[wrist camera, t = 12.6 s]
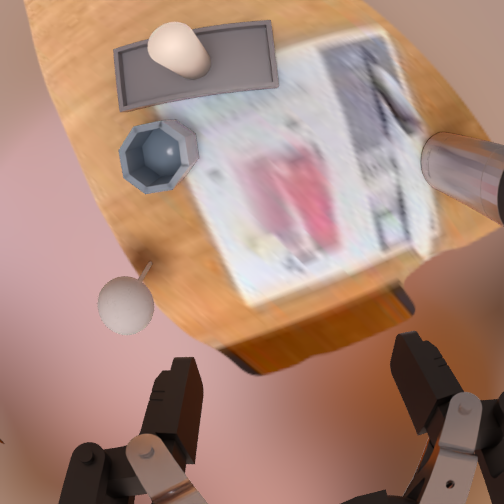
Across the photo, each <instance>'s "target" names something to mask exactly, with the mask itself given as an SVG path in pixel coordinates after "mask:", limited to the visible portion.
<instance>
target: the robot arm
mask: <svg viewBox="0 0 504 504" xmlns="http://www.w3.org/2000/svg"><path fill="white" fill-rule="evenodd" d="M421 166H422V171H423V175H424V177H425V179H426V181H427V182H428V183H429V184H430V185H431V186H432V187H433V188H435V189H437V190H439V191H441V192H443V193H445V194H447V195H448V196H450V197H452V198H454V199H456V200H458V201H460V202H461V203H463V204H465V205H467V206H469V207H470V208H472V209H474V210H476V211H478V212H479V213H481V214H483V215H484V216H486V217H488V218H490V219H491V220H493V221H495V222H496V223H498V224H500V225H501V226H503V227H504V145H501V144H497V143H493V142H489V141H485V140H480V139H476V138H472V137H467V136H463V135H458V134H453V133H447V132H441V133H437V134H435V135H433V136H432V137H431V138H430V139H429V140H428V141H427V143H426V144H425V146H424V149H423V152H422V158H421ZM390 368H391V373H392V376H393V378H394V380H395V382H396V385H397V387H398V389H399V392H400V394H401V396H402V398H403V401H404V403H405V405H406V407H407V410H408V413H409V415H410V417H411V420H412V422H413V425H414V427H415V429H416V432H417V434H418V435H421V434H424V433H428V435H429V439H428V440H427V443H426V446H425V449H424V451H423V454H422V457H421V460H420V462H419V465H418V467H417V469H416V472H415V474H414V477H413V479H412V481H411V482H410V484H409V486H408V487H407V489H406V491H405V493H404V495H403V496H394V495H387V493H386V490H382V491H378V492H374V493H370V494H366V495H362V496H357V497H355V498H353V499H350V500H348V501H346V502H343V503H341V504H465V503H466V500H467V497H468V494H469V491H470V487H471V484H472V480H473V476H474V473H475V469H476V465H477V461H478V463H479V465H480V469H481V471H482V474H483V477H484V479H485V483H486V486H487V489H488V492H489V495H490V499H491V502H492V504H504V392H503V393H502V394H501V395H500V397H499V398H498V399H494V400H479V399H478V397H476V396H475V395H474V394H471V393H468V392H464V391H463V389H462V388H461V386H460V384H459V382H458V381H457V379H456V377H455V376H454V374H453V373H452V371H451V369H450V368H449V366H448V365H447V363H446V361H445V360H444V358H442V355H441V354H440V352H439V350H438V349H437V347H435V346H434V345H433V344H431V343H430V342H429V341H422V339H421V338H420V336H419V335H418V333H417V332H416V331H411V332H406V333H401V334H398V335H397V336H396V340H395V345H394V349H393V353H392V357H391V361H390ZM202 403H203V384H202V381H201V377H200V374H199V371H198V368H197V365H196V362H195V359H194V357H176V358H174V360H173V362H172V366H171V370H169V371H162V372H161V373H160V374H159V376H158V377H157V378H156V379H155V382H154V385H153V388H152V393H151V395H150V401H149V403H148V406H147V409H146V413H145V417H144V421H143V424H142V428H141V431H140V434H139V435H138V436H136V437H134V438H133V439H132V440H131V441H130V442H129V443H128V445H126V446H123V447H118V448H112V449H105V450H103V449H102V448H101V447H100V446H99V445H98V444H96V443H92V442H87V443H83V444H81V445H79V446H78V447H77V448H76V449H75V450H74V452H73V453H72V457H71V460H70V463H69V467H68V470H67V473H66V477H65V481H64V484H63V488H62V492H61V496H60V500H59V504H134V500H135V495H142V494H148V495H149V497H150V498H151V501H152V503H151V504H208V503H207V502H206V501H205V499H204V498H203V497H202V496H201V494H200V493H199V492H198V491H197V489H196V488H195V487H194V486H193V484H192V483H191V481H190V480H189V479H188V477H187V476H186V475H185V468H186V464H195V458H196V449H197V441H198V433H199V426H200V418H201V410H202ZM474 452H475V454H474Z"/></svg>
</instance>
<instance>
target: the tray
mask: <svg viewBox="0 0 504 504" xmlns="http://www.w3.org/2000/svg"><path fill="white" fill-rule="evenodd" d="M192 30H193V32H194V33H195V35H196V36H197V38H198V39H199V41H200V42H201V44H202V45H203V47H204V48H205V50H206V51H207V53H208V54H209V56H210V58H211V67H210V69H209V71H208V72H207V74H206V75H204V76H203V77H201V78H199V79H196V80H189V79H186V78H184V77H182V76H180V75H178V74H177V73H175V72H173V71H171V70H170V69H168V68H166V67H164V66H162V65H161V64H159V63H157V62H155V61H154V60H153V59H152V58H151V57H150V55H149V53H148V41H149V39H147V40H143V41H139V42H136V43H132V44H129V45H125V46H122V47H119V48H116V49H113V52H114V64H115V75H116V84H117V93H118V102H119V109H120V112H129V111H133V110H137V109H141V108H146V107H150V106H154V105H159V104H164V103H169V102H174V101H179V100H185V99H190V98H196V97H202V96H209V95H216V94H223V93H231V92H239V91H249V90H259V89H271V88H278V87H279V83H278V74H277V65H276V57H275V49H274V41H273V33H272V26H271V20H264V21H251V22H240V23H231V24H223V25H216V26H209V27H203V28H197V29H192Z"/></svg>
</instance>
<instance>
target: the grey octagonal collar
mask: <svg viewBox="0 0 504 504" xmlns="http://www.w3.org/2000/svg"><path fill="white" fill-rule="evenodd" d="M119 156H120V162H121V167H122V173H123V178H124V179H126V180H127V181H128V182H130V183H131V184H132V185H134V186H135V187H136V188H138V189H139V190H141V191H142V192H143V193H145V194H149V193H155V192H162V191H168V190H173V189H174V188H175V187H176V186H177V185H178V184H179V183H180V182H181V181H182V180H183V179H184V178H185V176H186V175H187V174H188V172H189V171H190V170H191V168H192V167H193V166H194V164H195V163H196V162H197V160H198V159H199V154H198V147H197V140H196V134H195V133H194V132H193V131H191V130H190V129H188V128H187V127H186V126H184V125H183V124H181V123H180V122H179V121H177V120H162V121H157V122H152V123H147V124H143V125H138V126H134V127H133V128H132V130H131V131H130V133H129V135H128V136H127V138H126V139H125V141H124V142H123V144H122V146H121V147H120V149H119Z"/></svg>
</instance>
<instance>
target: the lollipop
mask: <svg viewBox="0 0 504 504" xmlns="http://www.w3.org/2000/svg"><path fill="white" fill-rule="evenodd" d="M151 266H152V262H151V261H149V262H148V264H147V266H146V267H145V269H144V271H143V272H142V274H141V275H140V277H139V279H135V278H132V277H125V276H124V277H117V278H115V279H113V280H111V281H109V282H108V283H107V284H106V285H105V286H104V287H103V288H102V290H101V292H100V294H99V298H98V311H99V315H100V317H101V320H102V321H103V322H104V324H105V325H106V326H107V327H108V328H109V329H110V330H112V331H114V332H116V333H118V334H122V335H131V334H135V333H138V332H140V331H142V330H143V329H144V328H145V327H146V326H147V325H148V324H149V322H150V321H151V319H152V316H153V312H154V301H153V297H152V294H151V292H150V290H149V289H148V288H147V287H146V285H145V284H143V283H142V281H143V279H144V278H145V276H146V274H147V272H148V271H149V269H150V267H151Z"/></svg>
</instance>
